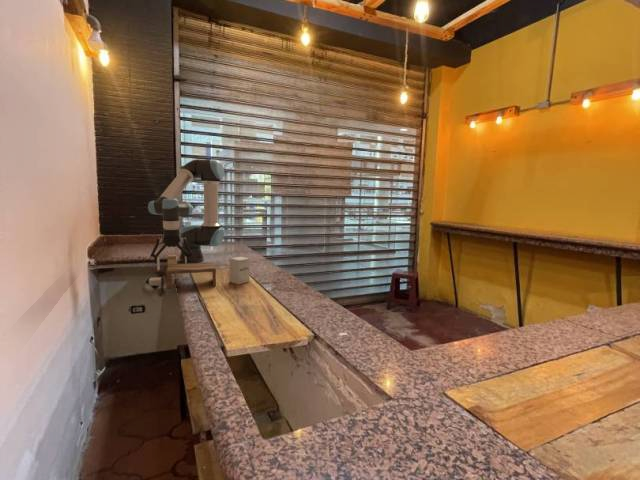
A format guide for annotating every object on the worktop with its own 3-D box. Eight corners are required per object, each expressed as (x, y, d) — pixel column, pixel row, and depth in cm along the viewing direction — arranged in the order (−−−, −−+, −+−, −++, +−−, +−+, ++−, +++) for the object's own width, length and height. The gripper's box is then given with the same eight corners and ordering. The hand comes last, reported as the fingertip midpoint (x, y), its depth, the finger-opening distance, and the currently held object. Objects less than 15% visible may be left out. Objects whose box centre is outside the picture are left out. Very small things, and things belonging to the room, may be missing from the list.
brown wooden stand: (169, 281, 169) (169, 264, 168) (214, 279, 176) (214, 262, 175) (166, 289, 156) (166, 270, 155) (215, 286, 163) (215, 268, 162)
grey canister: (238, 284, 168) (238, 260, 166) (229, 281, 172) (229, 258, 170) (249, 281, 174) (249, 258, 172) (240, 279, 178) (240, 256, 176)
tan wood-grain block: (169, 277, 176) (168, 255, 174) (177, 276, 178) (176, 255, 176) (165, 286, 160) (164, 262, 158) (174, 286, 162) (173, 261, 160)
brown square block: (150, 283, 165) (150, 277, 165) (161, 282, 167) (161, 277, 166) (148, 286, 160) (148, 280, 160) (160, 285, 162) (160, 279, 162)
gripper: (143, 229, 163) (145, 272, 167) (196, 229, 172) (197, 269, 175) (145, 228, 170) (147, 268, 174) (196, 227, 179) (197, 266, 182)
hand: (172, 269), depth 174 cm, fingers open, 13 cm apart
